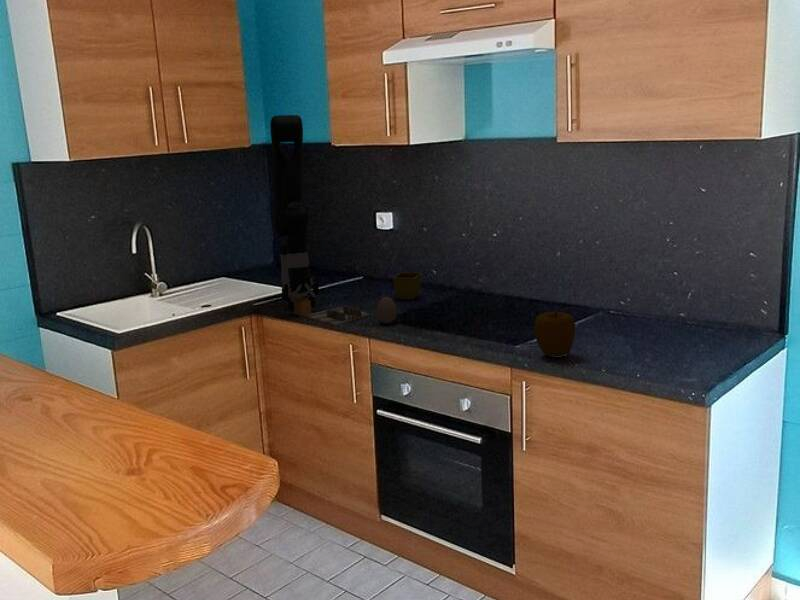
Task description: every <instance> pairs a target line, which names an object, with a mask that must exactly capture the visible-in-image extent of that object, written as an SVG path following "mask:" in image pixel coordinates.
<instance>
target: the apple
mask: <svg viewBox="0 0 800 600" xmlns="http://www.w3.org/2000/svg"><path fill="white" fill-rule="evenodd" d="M575 333H576V322H575V318H574V317H573V315H572V314H570V313H566V312H561V311H548V312H543V313H541V314H539V315H538V316H537V318H536V320H535V323H534V336H535V340H536V343H537V344H538V347H539V349H540V351H541V353H542V354H543V353H544V354H543V355H545V354H547V355H551V356H552V355H553V356H561V355H565V354H568V355H570V352H571V350H572V348H573V347H572V346H573V344H574V341H575Z"/></svg>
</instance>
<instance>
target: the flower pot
mask: <svg viewBox="0 0 800 600" xmlns="http://www.w3.org/2000/svg"><path fill="white" fill-rule="evenodd" d="M392 281H393V282H392V283H393V286H394V291H395V293H396V295H397V297H398V299H400V300H401V301H402V300H406V301H407V300H410V301H412V300H414V299H416V298H417V296H418V295H419V293H420V290H421V286H422V285H421V284H422V272H399V273H397V274H396V275H395V276H393V277H392Z"/></svg>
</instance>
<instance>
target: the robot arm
mask: <svg viewBox="0 0 800 600" xmlns="http://www.w3.org/2000/svg"><path fill="white" fill-rule="evenodd" d="M269 126H270V138H271V149H272V151H271V152H272V184H273V185H272V188H273V200H274V202H273V204H274V206H273V230H274V233H275V235H276V236H278V237H286V239H285V241H286V243H284V244H282V245H281V246H280V247H279V255H280V266H281V273H280V275H281V277H280V278H281V300H282V301H285V302H287V309H288V311H289V312H290V313H293V312H294V302H293V300H294V299H295V298H300V297H301V298H305V297H307V296H308V300H310V301H311V309H312V308H315V306H316V299H315V298H316V296H317V295H319V294H320V288H319V287H320V285H319V281H318V280H319V279H318V278H317V277H311V272H310V260H309V253H308V245H307V244H308V243H307V235H308V234H307V233H308V229H309V224H310V219H311V218H310V213H309V211H308V209H306V208H305V207H294V208H290V206H291V204H294V203H298V202H301V201H302V200H303V198H304V193H303V192H304V191H303V177H302V173H303V171H302V169H303V154H304V153H303V150H304V149H303V148H304V147H303V145H304V143H303V142H304V139H303V138H304V126H303V120H302V118H301V115H297V114H292V115H291V114H289V115H288V114H284V115H283V114H282V115H281V114H280V115H279V114H278V115H273V116H272V117H271V119H270V125H269ZM282 143H293V150H292V154H291V156H288V154H287V153H286V151H285V150H284V148H283V145H282ZM310 277H311V278H310ZM310 285H311V287H310Z"/></svg>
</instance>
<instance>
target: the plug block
mask: <svg viewBox="0 0 800 600" xmlns="http://www.w3.org/2000/svg"><path fill="white" fill-rule="evenodd" d="M293 302H294V312H292V314H293V315H297V316H301V317H304V316H305V315H309V314H312V307H311V301H310V300H309V298H305V297H300V298H294V300H293Z"/></svg>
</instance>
